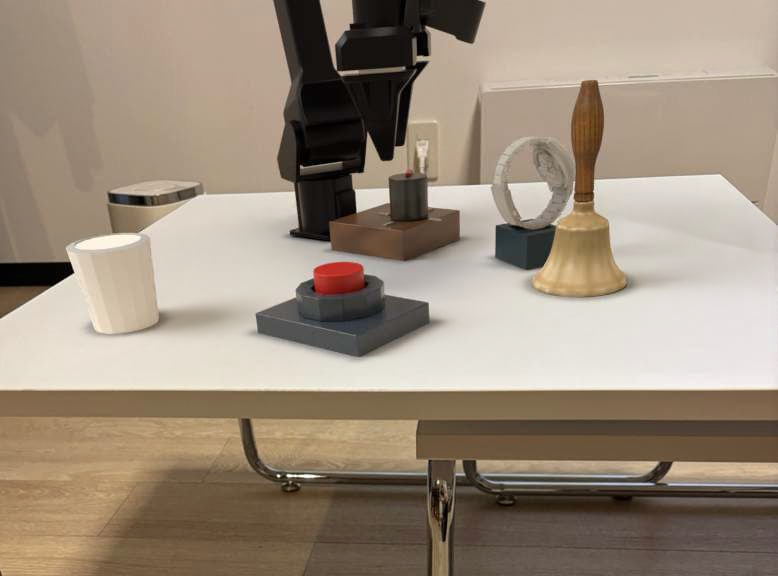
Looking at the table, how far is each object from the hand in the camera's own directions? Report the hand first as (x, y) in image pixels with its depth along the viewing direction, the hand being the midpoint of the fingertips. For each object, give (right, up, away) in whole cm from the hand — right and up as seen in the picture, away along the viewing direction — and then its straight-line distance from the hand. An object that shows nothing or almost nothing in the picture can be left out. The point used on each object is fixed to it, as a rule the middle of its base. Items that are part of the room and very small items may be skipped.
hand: (393, 153), depth 77 cm
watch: (+14, -9, +5) cm, 17 cm away
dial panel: (+1, -4, +13) cm, 13 cm away
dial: (+2, -2, +10) cm, 10 cm away
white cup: (-24, -17, -4) cm, 30 cm away
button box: (-4, -19, -9) cm, 21 cm away
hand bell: (+17, -13, -3) cm, 21 cm away
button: (-5, -16, -11) cm, 20 cm away
